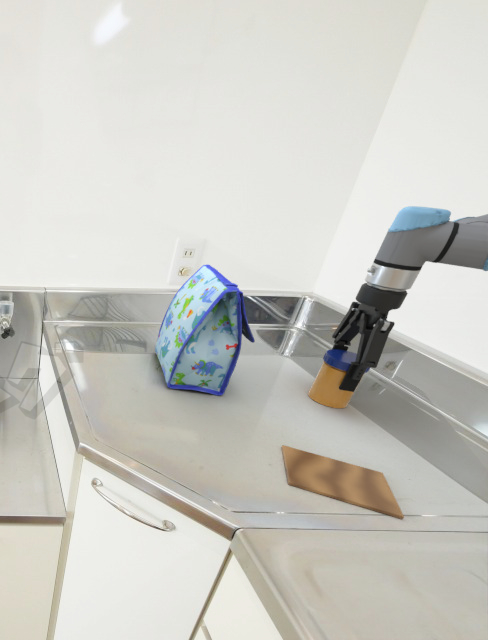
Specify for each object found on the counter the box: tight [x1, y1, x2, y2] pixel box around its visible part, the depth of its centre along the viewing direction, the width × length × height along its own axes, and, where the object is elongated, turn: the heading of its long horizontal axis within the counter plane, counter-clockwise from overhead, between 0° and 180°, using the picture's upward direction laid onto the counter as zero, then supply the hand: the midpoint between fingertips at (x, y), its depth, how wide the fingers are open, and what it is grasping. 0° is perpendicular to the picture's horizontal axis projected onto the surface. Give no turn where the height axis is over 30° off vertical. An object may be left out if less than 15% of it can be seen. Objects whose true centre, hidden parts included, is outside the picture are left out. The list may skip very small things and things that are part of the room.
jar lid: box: [322, 348, 372, 374], centre depth 96 cm, size 8×8×2 cm
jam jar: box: [307, 360, 366, 409], centre depth 99 cm, size 8×8×11 cm
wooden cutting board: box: [281, 444, 405, 520], centre depth 76 cm, size 16×12×1 cm
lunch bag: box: [154, 264, 256, 397], centre depth 104 cm, size 22×17×26 cm
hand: (337, 379), depth 99 cm, fingers open, 9 cm apart
